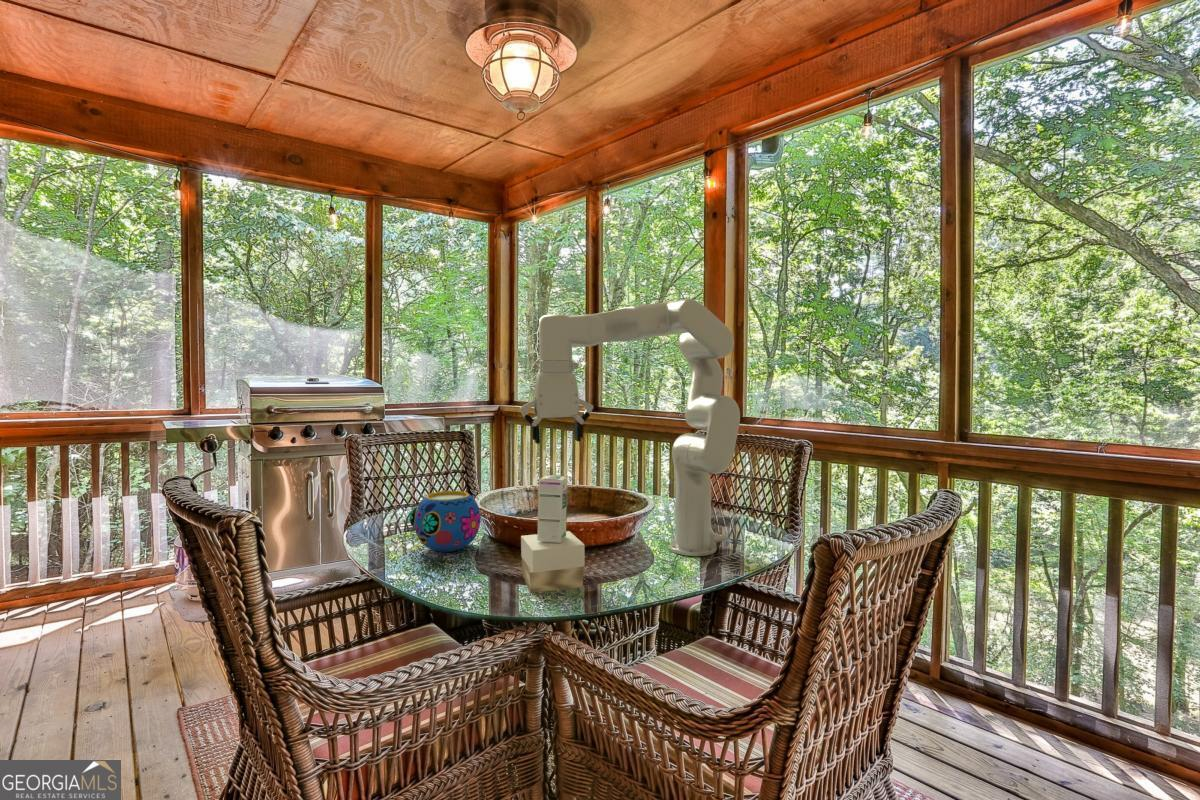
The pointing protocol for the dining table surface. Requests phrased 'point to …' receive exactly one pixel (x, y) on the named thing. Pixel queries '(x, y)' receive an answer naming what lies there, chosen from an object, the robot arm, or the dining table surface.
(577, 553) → the tower top slab
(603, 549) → the dining table surface
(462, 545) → the ceramic pot
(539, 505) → the syrup box
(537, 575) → the tower base slab
